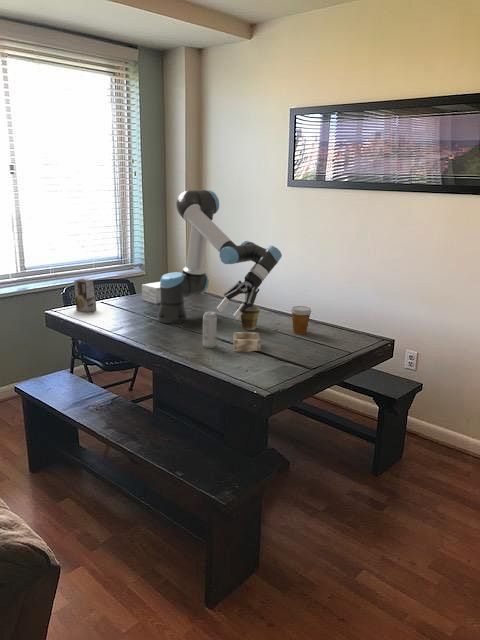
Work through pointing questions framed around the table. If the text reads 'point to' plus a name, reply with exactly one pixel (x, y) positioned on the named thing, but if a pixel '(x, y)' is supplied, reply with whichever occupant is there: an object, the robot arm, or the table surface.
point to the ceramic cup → (250, 317)
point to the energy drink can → (209, 329)
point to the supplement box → (151, 292)
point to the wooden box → (246, 341)
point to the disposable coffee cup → (300, 319)
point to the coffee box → (85, 295)
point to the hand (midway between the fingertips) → (226, 313)
